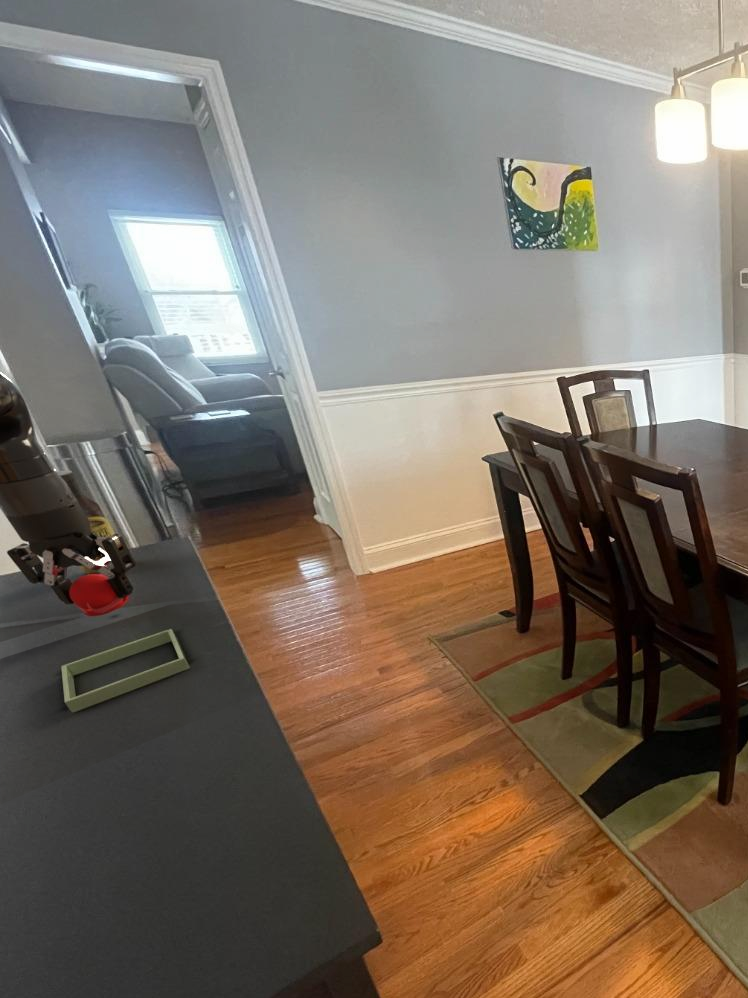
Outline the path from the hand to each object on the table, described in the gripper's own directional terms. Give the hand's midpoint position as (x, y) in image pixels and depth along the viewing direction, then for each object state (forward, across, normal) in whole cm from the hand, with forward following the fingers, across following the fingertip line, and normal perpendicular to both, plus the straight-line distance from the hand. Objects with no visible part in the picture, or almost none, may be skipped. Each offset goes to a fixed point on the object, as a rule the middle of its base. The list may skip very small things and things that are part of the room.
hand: (100, 598), depth 97 cm
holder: (+4, +14, -19) cm, 24 cm away
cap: (+2, 0, 0) cm, 2 cm away
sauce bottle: (+4, -12, +19) cm, 23 cm away
